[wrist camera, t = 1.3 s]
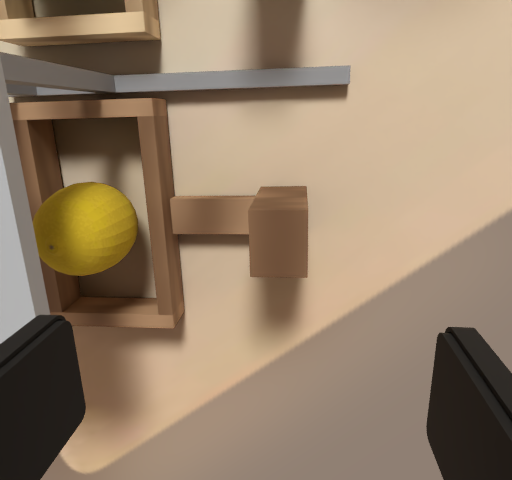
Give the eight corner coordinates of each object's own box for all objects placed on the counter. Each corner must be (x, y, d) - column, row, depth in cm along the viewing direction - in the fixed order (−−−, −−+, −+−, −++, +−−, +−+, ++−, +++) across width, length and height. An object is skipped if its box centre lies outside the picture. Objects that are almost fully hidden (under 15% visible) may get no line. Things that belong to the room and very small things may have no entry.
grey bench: (348, 67, 25) (389, 26, 13) (340, 294, 29) (366, 410, 18) (11, 81, 27) (-200, 57, 16) (50, 289, 31) (-92, 388, 20)
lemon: (162, 189, 28) (111, 217, 21) (144, 260, 30) (90, 309, 22) (87, 162, 28) (8, 180, 21) (73, 235, 30) (-5, 276, 22)
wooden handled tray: (307, 94, 25) (309, 87, 19) (305, 313, 30) (306, 371, 23) (34, 104, 27) (-52, 100, 21) (70, 308, 32) (9, 360, 25)
